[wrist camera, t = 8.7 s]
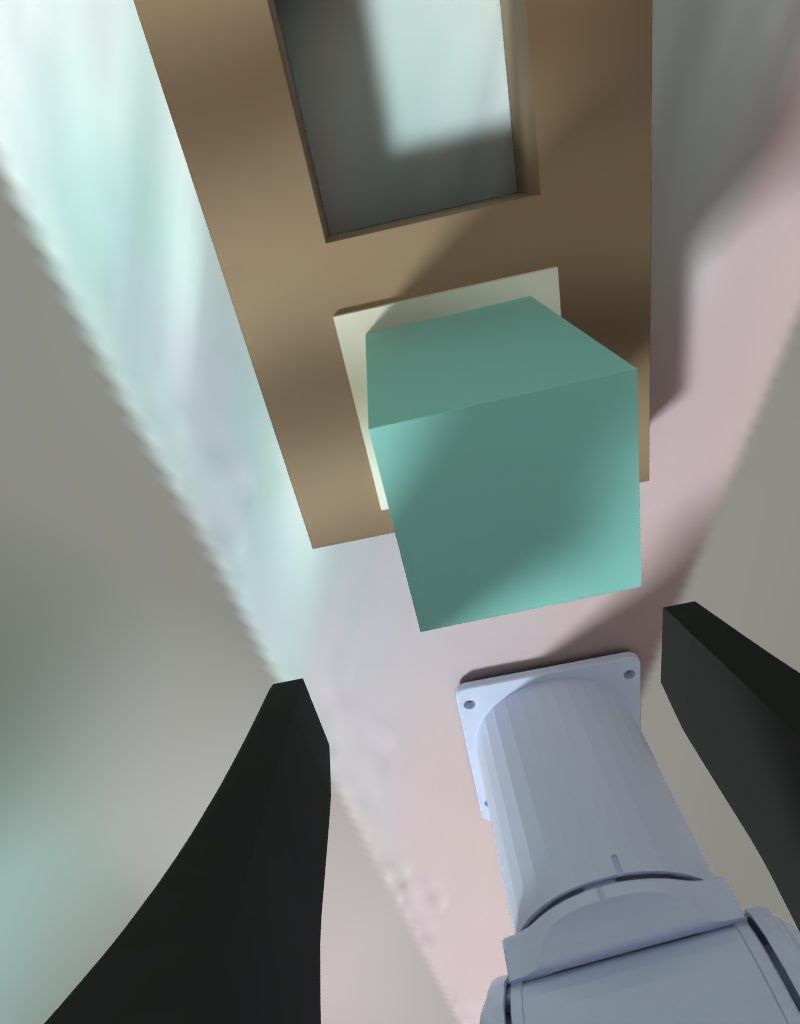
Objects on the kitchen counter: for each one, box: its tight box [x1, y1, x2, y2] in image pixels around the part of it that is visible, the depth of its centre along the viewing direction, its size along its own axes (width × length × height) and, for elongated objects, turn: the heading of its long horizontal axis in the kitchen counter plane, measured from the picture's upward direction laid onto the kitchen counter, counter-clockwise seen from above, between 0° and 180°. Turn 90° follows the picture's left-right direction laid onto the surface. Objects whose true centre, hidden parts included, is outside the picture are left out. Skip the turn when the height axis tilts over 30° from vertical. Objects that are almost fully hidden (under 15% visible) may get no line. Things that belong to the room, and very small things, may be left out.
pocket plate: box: [134, 0, 652, 549], centre depth 16 cm, size 16×11×3 cm
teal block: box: [365, 296, 641, 632], centre depth 14 cm, size 4×4×7 cm
